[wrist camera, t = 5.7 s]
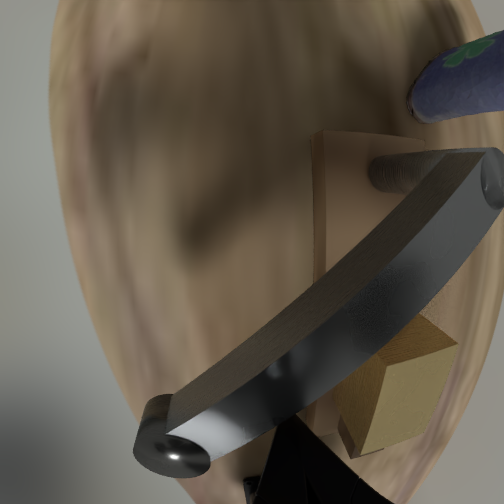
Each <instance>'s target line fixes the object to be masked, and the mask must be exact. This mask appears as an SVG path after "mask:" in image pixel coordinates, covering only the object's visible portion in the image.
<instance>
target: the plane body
mask: <svg viewBox="0 0 504 504" xmlns="http://www.w3.org/2000/svg"><path fill="white" fill-rule="evenodd" d="M420 151H425V140H421V139H414V138H407V137H400V136H392V135H384V134H374V133H364V132H352V131H337V130H321V131H319V132H317V133H315V134H313V135H311V153H312V174H313V206H314V283H315V282H316V281H317V280H319V279H320V278H321V277H322V276H323V275H324V274H325V273H326V272H328V271H329V270H330V269H331V268H332V267H333V266H334V265H335V264H336V263H337V262H339V261H340V260H341V259H342V258H343V257H344V256H345V255H346V254H347V253H348V252H349V251H351V250H352V249H353V248H354V247H355V246H356V245H357V244H358V243H359V242H360V241H361V240H362V239H363V238H364V237H365V236H366V235H368V234H369V233H370V232H371V231H372V230H373V229H374V228H375V227H376V226H377V225H378V224H379V223H380V222H381V221H382V220H383V219H384V218H385V217H386V216H387V215H388V214H389V213H390V212H391V211H392V210H393V209H394V208H395V207H396V206H397V205H398V204H399V203H400V202H401V201H402V200H403V199H404V198H405V197H406V196H407V195H402V194H394V193H385V192H380V191H378V190H377V189H375V188H374V187H373V185H372V184H371V182H370V179H369V166H370V164H371V162H372V160H373V159H374V158H376V157H377V156H381V155H389V154H399V153H409V152H420ZM333 389H334V387H333V388H332V389H330V390H329V391H328V392H326V393H325V394H324V395H322V396H321V397H319V398H318V399H317V400H315V401H314V402H312V403H311V404H309V405H308V406H307V411H306V422H307V425H308V427H309V428H310V429H311V430H312V431H313V432H314V434H315V435H316V436H317V437H320V436H325V435H330V434H335V433H339V434H340V436H341V438H342V441H343V443H344V445H345V448H346V450H347V452H348V454H349V457H350V459H354V458H357V457H361V456H364V455H367V454H371V453H374V452H377V451H380V450H383V449H384V448H382V449H379V450H376V451H373V452H370V453H366V454H363V455H360V454H359V452H358V450H357V448H356V445H355V443H354V441H353V439H352V437H351V435H350V433H349V431H348V429H347V427H346V425H345V422H344V420H343V418H342V416H341V414H340V412H339V410H338V408H337V406H336V404H335V402H334V400H333V397H332V396H333Z"/></svg>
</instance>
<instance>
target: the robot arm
mask: <svg viewBox="0 0 504 504" xmlns="http://www.w3.org/2000/svg"><path fill="white" fill-rule="evenodd" d="M243 485H244V491H245V497H246V502H247V504H394V503H392V502H391V501H389V500H388V499H386V498H385V497H383V496H382V495H380V494H379V493H378V492H377V491H375V490H374V489H373V488H372V487H370V486H369V485H368V484H367V483H366V482H365V481H364V480H363V479H361V478H359V476H358V475H357V474H356V473H355V472H354V471H353V470H352V469H350V468H349V467H348V466H347V465H346V464H345V463H344V462H343V461H342V460H341V459H340V458H339V457H338V456H337V455H336V454H335V453H334V452H333V451H332V450H331V449H330V448H329V447H327V446H326V445H325V444H324V443H323V442H322V441H321V440H320V439H319V438H318V437H317V436H316V435H315V434H314V432H313V431H312V430H311V429H310V428H309V427H308V426H307V425H306V424H305V423H304V422H303V421H302V420H301V419H300V418H299V417H298V416H297V415H296V414H295V415H293V416H291V417H290V418H288V419H287V420H285V421H284V422H282V423H280V424H279V425H277V426H276V430H275V433H274V437H273V440H272V443H271V447H270V450H269V454H268V457H267V460H266V463H265V467H264V470H263V473H262V476H261V477H254V478H246V479H244V480H243Z"/></svg>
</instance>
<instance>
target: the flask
mask: <svg viewBox="0 0 504 504" xmlns="http://www.w3.org/2000/svg"><path fill="white" fill-rule="evenodd" d="M406 103H407V105H408V109H409V111H410V113H411V114H412V109H413V114H414V115H413V114H412V115H413V116H414V118H416V120H418V122H419V123H425V124H430V123H431V124H432V123H434V122H436V121H443V120H447V119H452V118H456V117H461V116H465V115H474V114H478V113H484V112H493V111H503V110H504V30H503V31H499V32H495V33H493V34H491V35H488V36H485V37H483V38H479V39H477V40H475V41H472V42H469V43H466V44H463V45H462V46H459V47H455V48H452V49H450V50H446V51H444V52H442V53H439V55H436V56H435V57H433V59H432V60H430V61H429V63H428V65H427V66H426V67H424V69H423V71H422V72H421V73H420V74H419V77H418V78H417V79H416V80H415V81H414V84H413V85H412V86H411V88H410V90H409V93H408V95H407V102H406Z"/></svg>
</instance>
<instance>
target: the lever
mask: <svg viewBox="0 0 504 504" xmlns="http://www.w3.org/2000/svg"><path fill="white" fill-rule="evenodd" d="M369 179H370V182H371V184H372V185H373V187H374V188H375V189H377V190H378V191H380V192H385V193H394V194H402V195H407V196H406V197H405V198H404V199H403V200H402V201H401V202H400V203H399V204H398V205H397V206H396V207H395V208H394V209H393V210H392V211H391V212H390V213H389V214H388V215H387V216H386V217H385V218H384V219H383V220H382V221H381V222H380V223H379V224H378V225H377V226H376V227H375V228H374V229H373V230H372V231H371V232H370V233H369V234H368V235H366V236H365V237H364V238H363V239H362V240H361V241H360V242H359V243H358V244H357V245H356V246H355V247H354V248H353V249H352V250H351V251H349V252H348V253H347V254H346V255H345V256H344V257H343V258H342V259H341V260H340V261H339V262H337V263H336V264H335V265H334V266H333V267H332V268H331V269H330V270H329V271H328V272H326V273H325V274H324V275H323V276H322V277H321V278H320V279H319V280H317V281H316V282H315V283H314V284H313V285H312V286H311V287H309V288H308V289H307V290H306V291H305V292H304V293H302V294H301V295H300V296H299V297H298V298H297V299H295V300H294V301H293V302H292V303H291V304H290V305H288V306H287V307H286V308H285V309H284V310H282V311H281V312H280V313H279V314H278V315H276V316H275V317H274V318H273V319H272V320H270V321H269V322H268V323H267V324H266V325H264V326H263V327H262V328H261V329H259V330H258V331H257V332H256V333H254V334H253V335H252V336H251V337H249V338H248V339H247V340H246V341H244V342H243V343H242V344H241V345H239V346H238V347H237V348H235V349H234V350H233V351H232V352H230V353H229V354H228V355H226V356H225V357H224V358H222V359H221V360H220V361H219V362H217V363H216V364H215V365H213V366H212V367H211V368H209V369H208V370H207V371H205V372H204V373H203V374H201V375H200V376H198V377H197V378H196V379H194V380H193V381H192V382H190V383H189V384H187V385H186V386H185V387H183V388H182V389H181V390H179V391H178V392H176V393H175V394H163V395H158V396H156V397H153V398H152V399H150V400H149V401H148V402H147V404H146V406H145V409H144V412H143V415H142V419H141V422H140V426H139V429H138V433H137V437H136V440H135V444H134V448H133V454H134V456H135V458H136V459H137V461H138V462H139V463H140V464H141V465H143V466H144V467H145V468H147V469H149V470H150V471H153V472H155V473H157V474H160V475H164V476H167V477H173V478H192V477H197V476H200V475H202V474H204V473H205V472H206V471H208V469H209V468H210V462H211V461H213V460H215V459H217V458H219V457H221V456H223V455H225V454H227V453H229V452H231V451H233V450H235V449H237V448H239V447H241V446H243V445H244V444H246V443H248V442H250V441H252V440H253V439H255V438H257V437H259V436H260V435H262V434H264V433H266V432H267V431H269V430H271V429H272V428H274V427H276V426H277V425H279V424H280V423H282V422H284V421H285V420H287V419H288V418H290V417H291V416H293V415H295V414H296V413H298V412H299V411H301V410H302V409H304V408H305V407H306V406H308V405H309V404H311V403H312V402H314V401H315V400H317V399H318V398H319V397H321V396H322V395H324V394H325V393H326V392H328V391H329V390H330V389H332V388H333V387H334V386H336V385H337V384H338V383H340V382H341V381H342V380H344V379H345V378H346V377H347V376H349V375H350V374H351V373H352V372H354V371H355V370H356V369H357V368H359V367H360V366H361V365H362V364H364V363H365V362H366V361H367V360H368V359H369V358H371V357H372V356H373V355H374V354H375V353H376V352H378V351H379V350H380V349H381V348H382V347H383V346H384V345H386V344H387V343H388V342H389V341H390V340H391V339H392V338H393V337H394V336H395V335H396V334H398V333H399V332H400V331H401V330H402V329H403V328H404V327H405V326H406V325H407V324H408V323H409V322H410V321H411V320H412V319H413V318H414V317H415V316H416V315H417V314H418V313H419V312H420V311H421V310H422V309H423V308H424V307H425V306H426V305H427V304H428V303H429V302H430V301H431V299H432V298H433V297H434V296H435V295H436V294H437V293H438V292H439V291H440V290H441V289H442V287H443V286H444V285H445V284H446V283H447V282H448V281H449V279H450V278H451V277H452V276H453V275H454V274H455V272H456V271H457V270H458V269H459V268H460V266H461V265H462V264H463V263H464V261H465V260H466V259H467V258H468V256H469V255H470V254H471V253H472V251H473V250H474V249H475V247H476V246H477V245H478V243H479V242H480V241H481V239H482V238H483V237H484V235H485V234H486V233H487V231H488V230H489V228H490V227H491V225H492V224H493V223H494V221H495V220H496V218H497V217H498V215H499V214H500V212H501V211H502V209H503V208H504V154H503V153H502V152H501V151H500V150H499V149H497V148H494V147H491V148H463V149H446V150H432V151H420V152H409V153H399V154H389V155H381V156H377V157H376V158H374V159H373V160H372V162H371V164H370V166H369Z"/></svg>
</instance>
